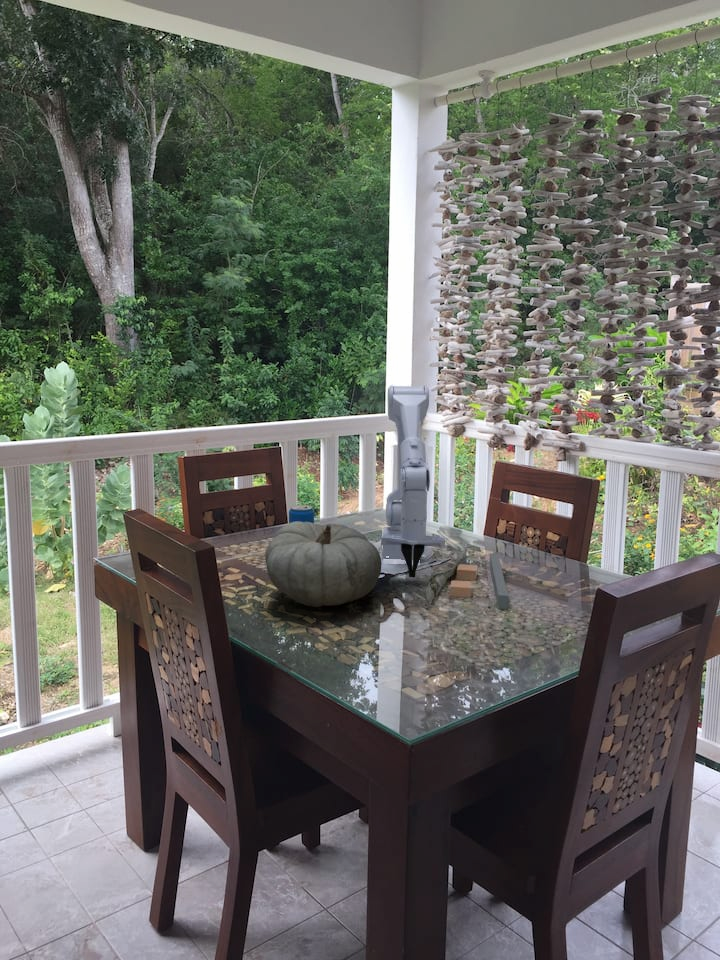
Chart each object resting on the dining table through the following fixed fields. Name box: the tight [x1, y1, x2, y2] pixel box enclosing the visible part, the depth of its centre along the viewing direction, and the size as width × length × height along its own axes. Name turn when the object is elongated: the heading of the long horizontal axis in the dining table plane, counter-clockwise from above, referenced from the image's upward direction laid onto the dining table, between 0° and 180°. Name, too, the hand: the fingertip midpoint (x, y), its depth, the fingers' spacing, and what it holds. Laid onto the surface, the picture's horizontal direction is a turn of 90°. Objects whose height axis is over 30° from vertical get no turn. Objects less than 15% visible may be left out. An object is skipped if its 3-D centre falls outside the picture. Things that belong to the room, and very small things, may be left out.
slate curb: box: [489, 553, 509, 610], centre depth 187 cm, size 2×32×3 cm, turn 174°
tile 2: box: [456, 563, 479, 581], centre depth 194 cm, size 4×4×2 cm
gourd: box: [264, 521, 383, 608], centre depth 175 cm, size 25×25×17 cm
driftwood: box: [425, 549, 467, 605], centre depth 188 cm, size 37×2×5 cm, turn 160°
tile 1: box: [449, 580, 473, 599], centre depth 181 cm, size 4×4×2 cm
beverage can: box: [288, 504, 315, 524], centre depth 212 cm, size 6×6×12 cm
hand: (412, 576), depth 189 cm, fingers closed
